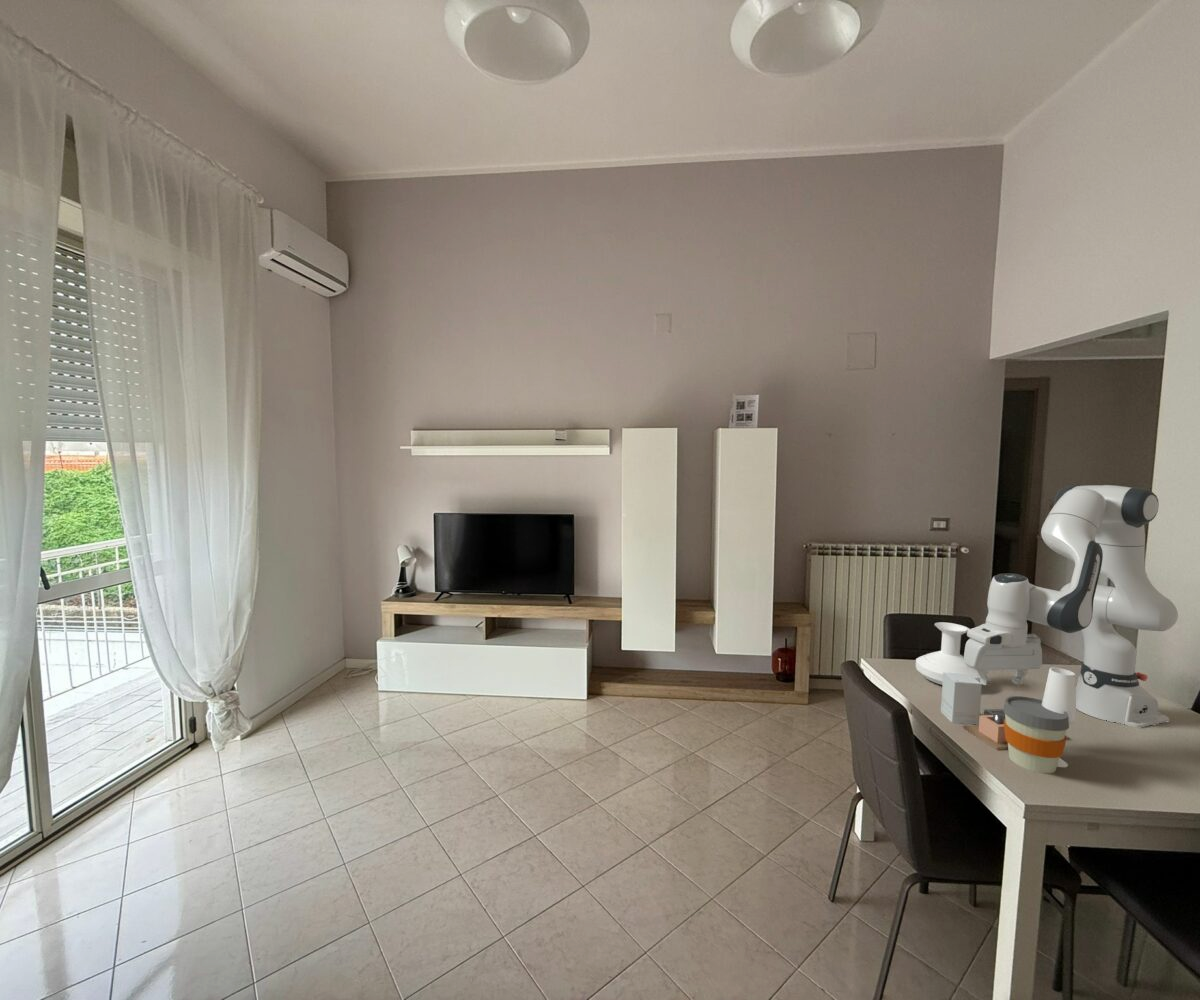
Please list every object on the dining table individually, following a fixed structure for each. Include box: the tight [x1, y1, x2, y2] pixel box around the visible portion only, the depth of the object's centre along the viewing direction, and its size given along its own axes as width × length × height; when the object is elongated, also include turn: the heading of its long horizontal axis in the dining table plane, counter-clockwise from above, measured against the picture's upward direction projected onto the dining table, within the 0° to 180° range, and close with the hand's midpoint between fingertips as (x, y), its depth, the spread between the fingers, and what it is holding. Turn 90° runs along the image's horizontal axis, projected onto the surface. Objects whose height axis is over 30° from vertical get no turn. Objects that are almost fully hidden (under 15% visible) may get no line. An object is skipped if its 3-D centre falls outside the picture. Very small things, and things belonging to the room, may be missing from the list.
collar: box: [979, 714, 1007, 743], centre depth 140 cm, size 6×8×4 cm
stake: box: [993, 712, 1005, 724], centre depth 139 cm, size 3×3×6 cm
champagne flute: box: [1042, 667, 1077, 768], centre depth 128 cm, size 7×7×24 cm
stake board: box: [962, 724, 1008, 751], centre depth 140 cm, size 10×11×1 cm
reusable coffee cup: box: [1002, 695, 1070, 774], centre depth 128 cm, size 13×13×15 cm
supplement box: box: [940, 672, 983, 725], centre depth 151 cm, size 7×7×13 cm
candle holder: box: [915, 621, 980, 686], centre depth 177 cm, size 20×20×19 cm
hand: (1001, 684), depth 138 cm, fingers open, 8 cm apart
